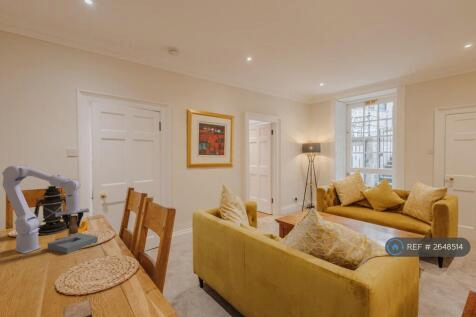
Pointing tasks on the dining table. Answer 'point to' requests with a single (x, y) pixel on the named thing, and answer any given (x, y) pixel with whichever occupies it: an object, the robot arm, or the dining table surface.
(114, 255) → the dining table surface
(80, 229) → the pipe clamp
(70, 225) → the peg
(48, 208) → the lantern
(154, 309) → the dining table surface
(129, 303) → the dining table surface
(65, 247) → the hole block
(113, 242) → the dining table surface
